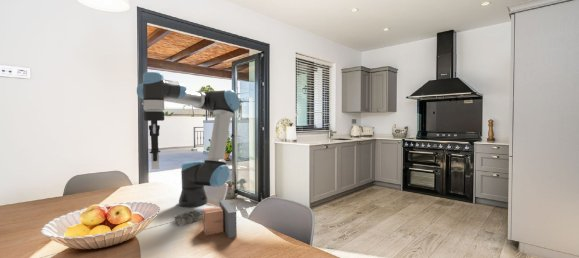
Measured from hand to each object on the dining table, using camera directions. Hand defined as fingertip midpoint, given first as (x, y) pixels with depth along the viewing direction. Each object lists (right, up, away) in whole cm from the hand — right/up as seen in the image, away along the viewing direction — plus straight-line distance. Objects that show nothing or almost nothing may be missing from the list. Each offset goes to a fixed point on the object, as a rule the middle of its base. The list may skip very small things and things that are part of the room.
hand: (155, 168), depth 111 cm
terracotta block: (+23, -26, +2) cm, 35 cm away
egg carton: (+8, -26, +13) cm, 31 cm away
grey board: (+29, -26, +3) cm, 39 cm away
